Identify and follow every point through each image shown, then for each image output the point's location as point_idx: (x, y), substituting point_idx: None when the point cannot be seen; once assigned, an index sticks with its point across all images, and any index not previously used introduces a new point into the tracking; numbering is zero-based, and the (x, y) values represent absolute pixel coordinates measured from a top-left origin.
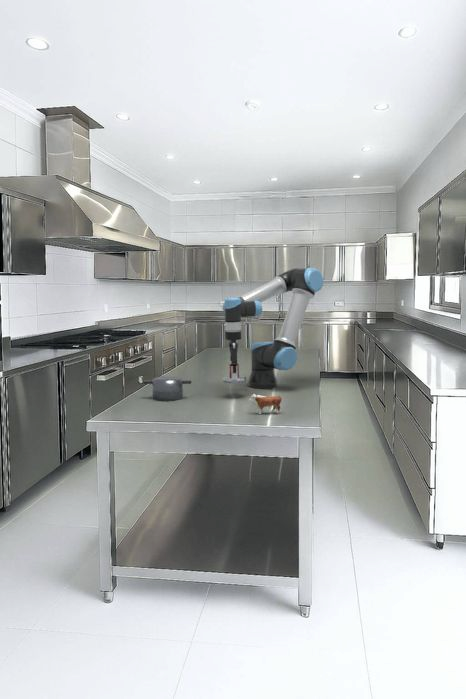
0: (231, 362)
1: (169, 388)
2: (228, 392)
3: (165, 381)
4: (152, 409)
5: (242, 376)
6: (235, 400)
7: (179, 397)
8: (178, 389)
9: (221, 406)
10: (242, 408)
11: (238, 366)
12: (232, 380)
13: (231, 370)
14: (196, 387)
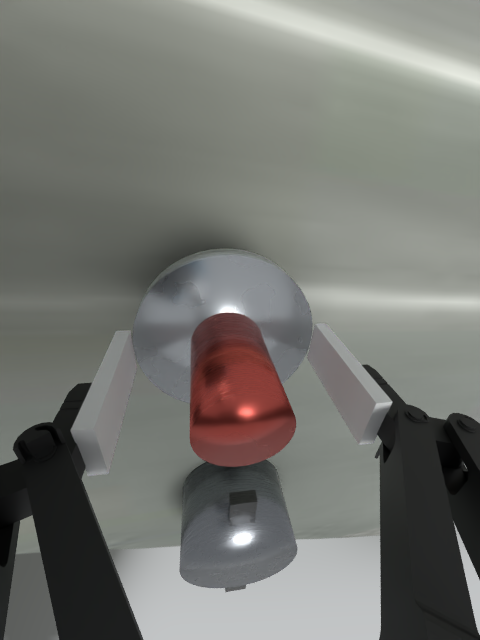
0: (109, 460)
1: (289, 518)
2: (103, 313)
3: (290, 555)
4: (365, 486)
5: (185, 282)
6: (303, 285)
7: (263, 465)
8: (273, 496)
9: (395, 339)
10: (461, 262)
11: (259, 375)
12: (305, 350)
13: (338, 408)
14: (5, 444)
